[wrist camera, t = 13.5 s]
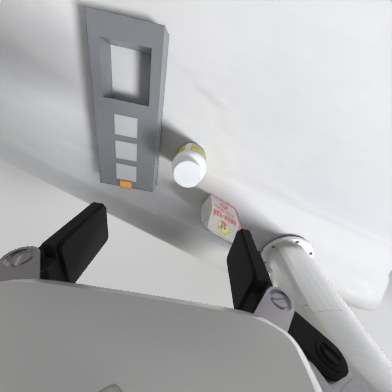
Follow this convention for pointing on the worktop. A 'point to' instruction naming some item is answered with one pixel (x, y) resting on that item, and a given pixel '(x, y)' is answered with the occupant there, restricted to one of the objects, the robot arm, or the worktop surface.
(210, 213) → the white gable-top box
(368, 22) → the worktop surface
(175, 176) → the supplement bottle
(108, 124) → the power strip
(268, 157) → the worktop surface
